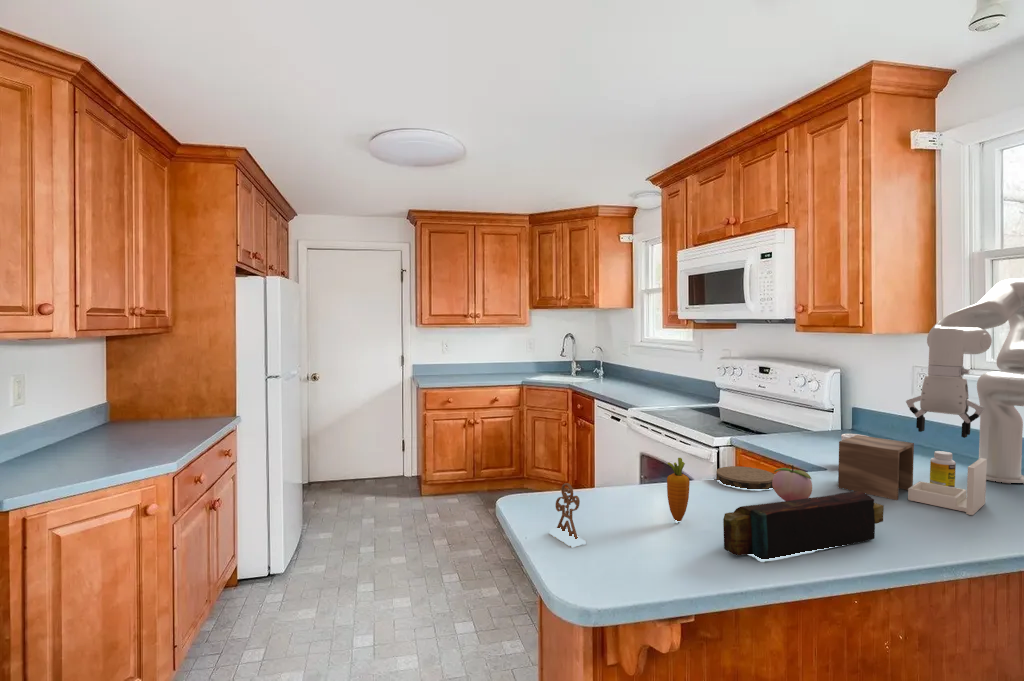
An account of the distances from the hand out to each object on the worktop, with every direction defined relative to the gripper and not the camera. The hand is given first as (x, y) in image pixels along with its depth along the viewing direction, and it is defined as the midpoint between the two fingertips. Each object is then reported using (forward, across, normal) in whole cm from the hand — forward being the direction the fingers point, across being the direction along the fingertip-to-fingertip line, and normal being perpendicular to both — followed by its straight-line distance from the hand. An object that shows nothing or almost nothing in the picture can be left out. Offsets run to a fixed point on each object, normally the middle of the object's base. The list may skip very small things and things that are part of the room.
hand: (942, 434), depth 154 cm
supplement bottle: (+16, 0, -1) cm, 16 cm away
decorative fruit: (+17, +21, +44) cm, 51 cm away
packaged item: (+18, +8, +68) cm, 71 cm away
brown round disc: (+17, +38, +35) cm, 54 cm away
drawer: (+15, -4, +13) cm, 21 cm away
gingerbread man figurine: (+18, +42, +104) cm, 114 cm away
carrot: (+18, +32, +78) cm, 86 cm away
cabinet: (+16, +12, +13) cm, 24 cm away
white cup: (+16, +24, -8) cm, 29 cm away
